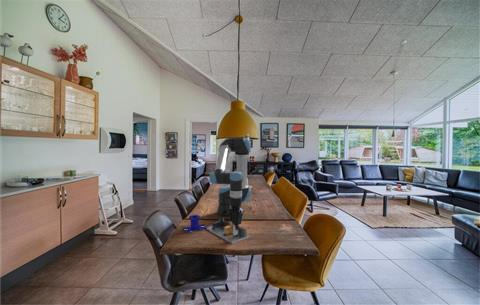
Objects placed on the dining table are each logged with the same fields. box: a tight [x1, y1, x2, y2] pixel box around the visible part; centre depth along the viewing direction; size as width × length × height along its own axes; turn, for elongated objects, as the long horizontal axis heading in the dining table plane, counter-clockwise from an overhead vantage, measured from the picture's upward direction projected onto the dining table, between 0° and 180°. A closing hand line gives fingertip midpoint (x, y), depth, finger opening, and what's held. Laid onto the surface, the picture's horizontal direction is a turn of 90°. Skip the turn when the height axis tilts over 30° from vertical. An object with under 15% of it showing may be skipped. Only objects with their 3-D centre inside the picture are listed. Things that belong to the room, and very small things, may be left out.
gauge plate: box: [205, 216, 250, 245], centre depth 139 cm, size 28×14×7 cm, turn 42°
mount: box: [182, 214, 207, 233], centre depth 145 cm, size 15×8×9 cm, turn 120°
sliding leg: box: [224, 221, 233, 235], centre depth 137 cm, size 3×11×7 cm, turn 132°
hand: (235, 234), depth 131 cm, fingers closed
